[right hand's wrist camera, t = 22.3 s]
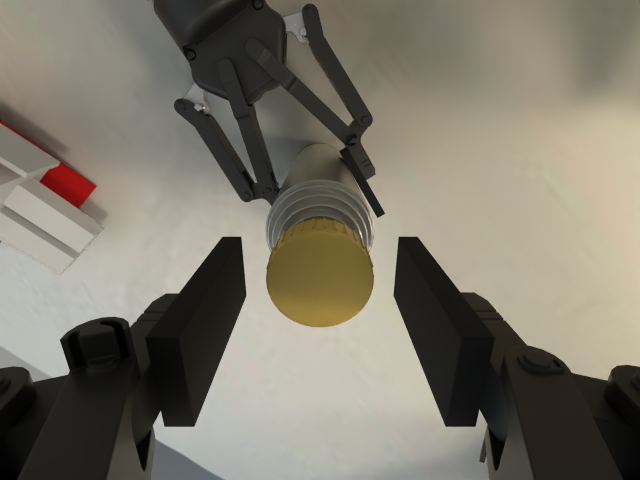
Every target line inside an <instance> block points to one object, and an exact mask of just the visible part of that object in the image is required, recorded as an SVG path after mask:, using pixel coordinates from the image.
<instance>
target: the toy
mask: <svg viewBox="0 0 640 480" xmlns="http://www.w3.org/2000/svg"><path fill="white" fill-rule="evenodd" d="M95 188H96V186H95V185H94V184H92V183H91V182H89V181H88V180H86V179H85V178H84V177H82V176H81V175H79V174H78V173H76V172H75V171H73V170H72V169H70V168H69V167H68V166H66V165H65V164H63V163H62V162H60V161H59V160H57V159H56V158H54V157H53V156H52V155H50V154H49V153H47V152H46V151H44V150H43V149H41V148H40V147H38V146H37V145H36V144H34V143H33V142H31V141H30V140H28V139H27V138H25V137H24V136H22V135H21V134H20V133H18V132H17V131H15V130H14V129H12V128H11V127H9V126H8V125H6V124H5V123H4V122H2V121H1V120H0V239H1V240H2V241H4V242H6V243H7V244H9V245H11V246H12V247H14V248H16V249H17V250H19V251H20V252H22V253H24V254H25V255H27V256H29V257H30V258H32V259H34V260H35V261H37V262H39V263H40V264H42V265H44V266H45V267H47V268H49V269H50V270H52V271H54V272H55V273H57V274H59V275H61V274H62V273H63V272H64V271H65V270H66V269H67V268H68V267H69V266H71V265H72V263H73V262H74V261H75V260H76V259H77V258H78V257H79V256H80V254H81V253H82V252H83V251H84V250H85V248H86V247H87V246H88V245H89V244H90V243H91V242H92V241H93V240H94V239H95V238H96V236H97V235H98V234H99V233H100V232H101V231H102V230H103V229H104V226H102V225H101V224H99V223H98V222H96V221H95V220H93V219H92V218H91V217H89V216H88V215H86V214H85V213H83V212H82V211H80V210H79V208H80V206H81V205H82V204H83V203H84V201H85V200H86V199H87V198H88V196H89V195H90V194H91V193H92V191H93V190H94V189H95ZM0 243H1V241H0Z"/></svg>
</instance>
